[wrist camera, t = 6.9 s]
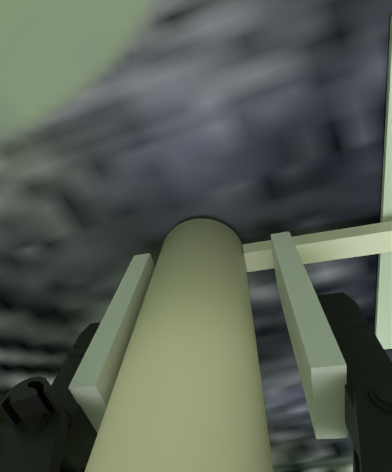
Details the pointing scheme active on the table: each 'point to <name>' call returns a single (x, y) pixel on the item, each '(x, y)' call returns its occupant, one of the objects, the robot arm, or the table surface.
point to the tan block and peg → (203, 354)
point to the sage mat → (388, 277)
